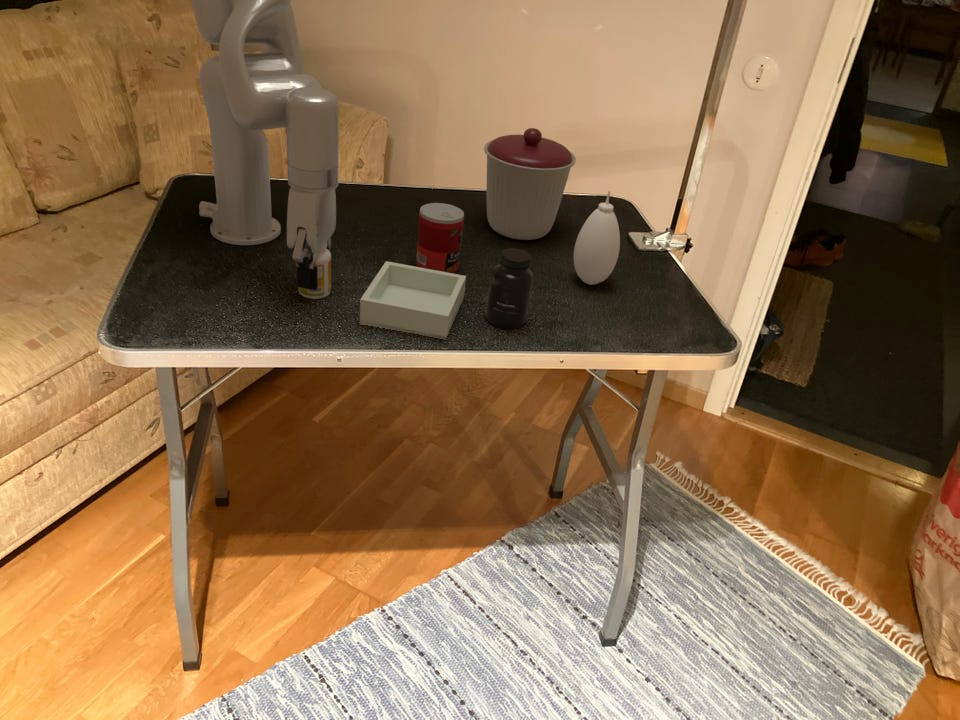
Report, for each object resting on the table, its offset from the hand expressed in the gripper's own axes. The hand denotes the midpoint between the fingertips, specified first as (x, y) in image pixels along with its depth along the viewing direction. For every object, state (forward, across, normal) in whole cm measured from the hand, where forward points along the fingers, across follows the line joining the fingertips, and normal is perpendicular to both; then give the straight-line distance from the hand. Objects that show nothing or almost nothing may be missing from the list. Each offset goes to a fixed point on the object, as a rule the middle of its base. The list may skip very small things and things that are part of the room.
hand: (314, 278), depth 123 cm
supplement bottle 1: (+3, 0, 0) cm, 3 cm away
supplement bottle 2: (+3, -3, +32) cm, 32 cm away
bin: (+2, 0, +17) cm, 17 cm away
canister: (+3, -40, +29) cm, 49 cm away
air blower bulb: (+3, -22, +45) cm, 50 cm away
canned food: (+3, -17, +17) cm, 24 cm away
